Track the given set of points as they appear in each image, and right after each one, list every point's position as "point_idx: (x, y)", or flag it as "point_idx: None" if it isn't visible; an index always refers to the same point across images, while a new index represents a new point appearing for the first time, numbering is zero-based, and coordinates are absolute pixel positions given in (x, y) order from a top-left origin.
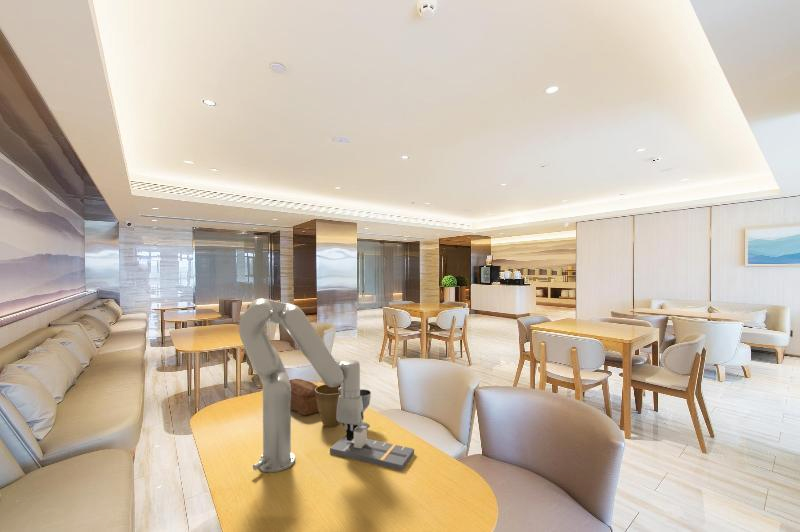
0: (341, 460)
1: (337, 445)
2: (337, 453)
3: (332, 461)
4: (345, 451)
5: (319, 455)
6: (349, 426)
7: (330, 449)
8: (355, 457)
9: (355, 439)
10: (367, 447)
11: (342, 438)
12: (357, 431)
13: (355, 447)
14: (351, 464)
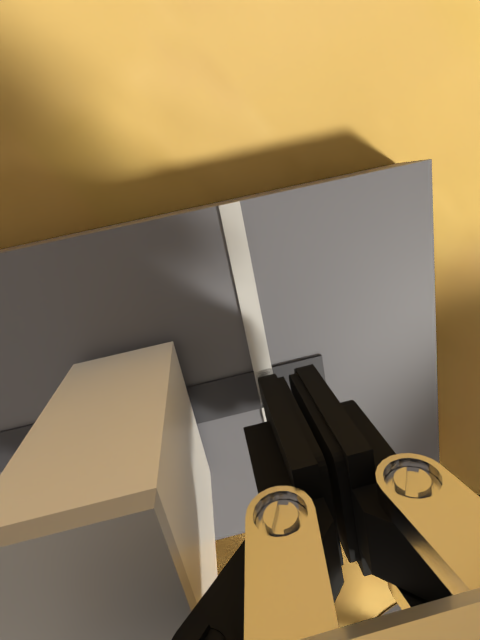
0: (181, 125)
1: (384, 265)
2: (303, 184)
3: (255, 38)
4: (201, 218)
5: (474, 53)
6: (393, 562)
7: (412, 161)
8: (54, 238)
9: (135, 401)
10: None
11: (426, 405)
12: (40, 530)
13: (149, 347)
14: (16, 127)
